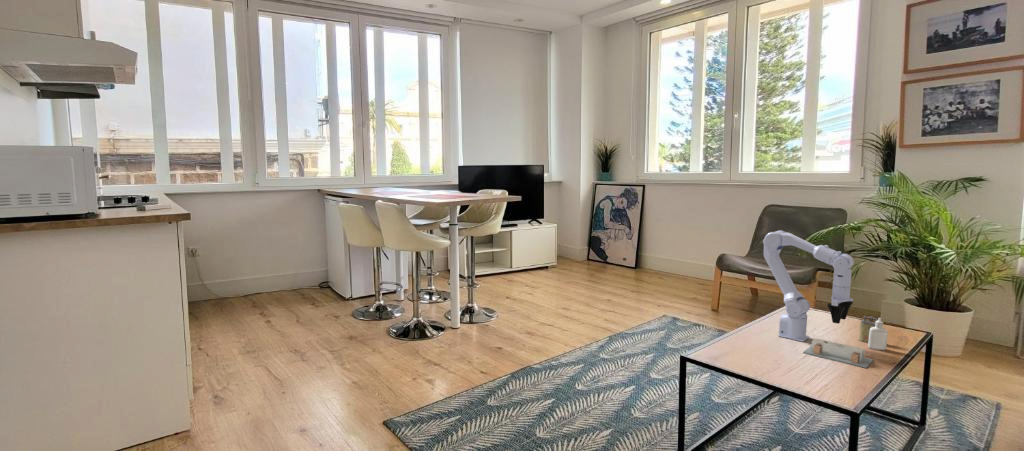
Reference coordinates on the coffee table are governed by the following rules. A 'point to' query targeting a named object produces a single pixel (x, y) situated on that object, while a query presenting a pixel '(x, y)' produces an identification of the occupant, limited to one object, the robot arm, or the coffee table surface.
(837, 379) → the coffee table surface
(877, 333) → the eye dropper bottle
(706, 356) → the coffee table surface
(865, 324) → the lighter
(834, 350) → the silver long block
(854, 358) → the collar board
